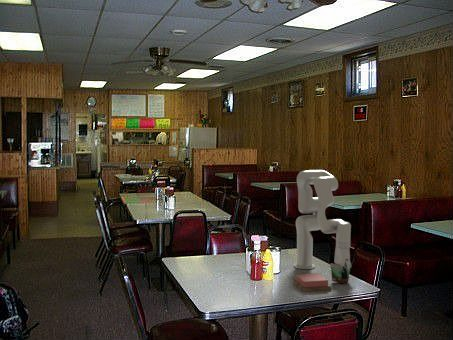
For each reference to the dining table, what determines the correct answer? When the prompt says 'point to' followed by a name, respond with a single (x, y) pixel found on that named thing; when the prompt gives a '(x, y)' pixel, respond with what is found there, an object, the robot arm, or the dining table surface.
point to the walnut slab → (312, 288)
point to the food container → (339, 273)
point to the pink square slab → (311, 280)
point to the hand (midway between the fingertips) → (341, 277)
